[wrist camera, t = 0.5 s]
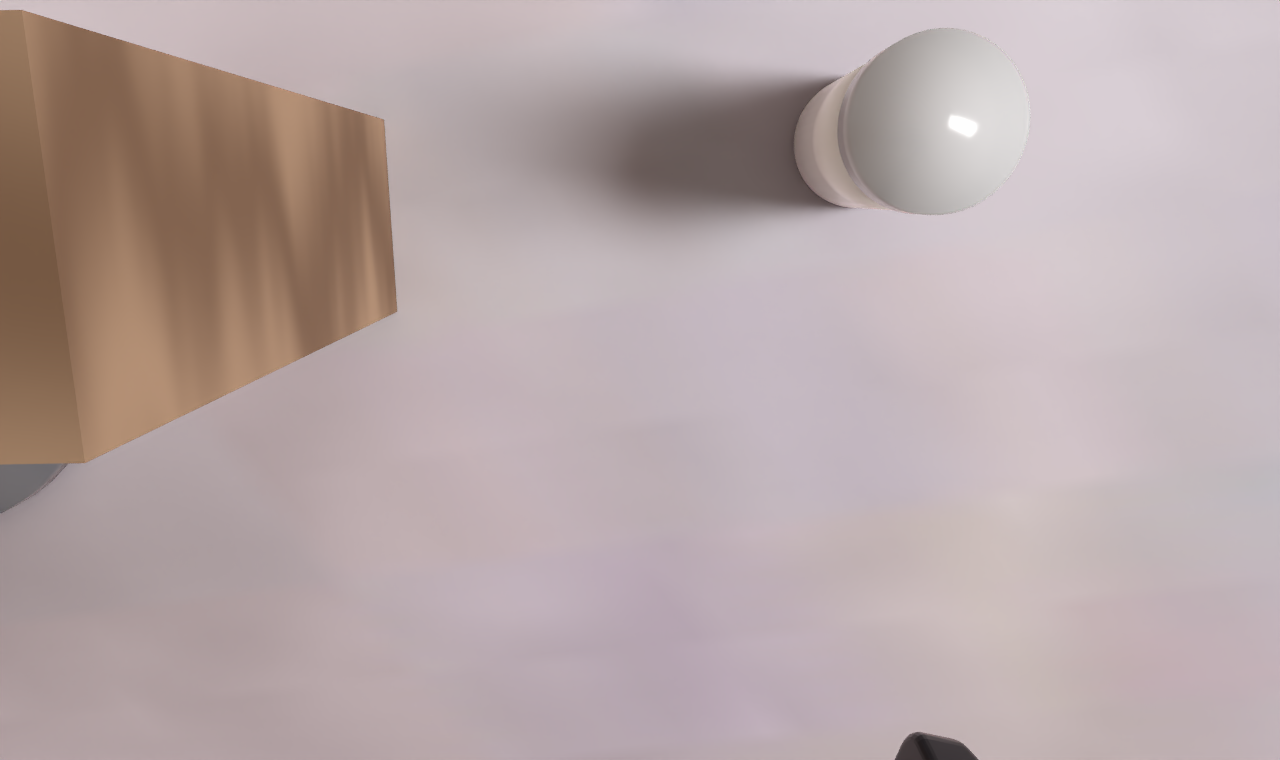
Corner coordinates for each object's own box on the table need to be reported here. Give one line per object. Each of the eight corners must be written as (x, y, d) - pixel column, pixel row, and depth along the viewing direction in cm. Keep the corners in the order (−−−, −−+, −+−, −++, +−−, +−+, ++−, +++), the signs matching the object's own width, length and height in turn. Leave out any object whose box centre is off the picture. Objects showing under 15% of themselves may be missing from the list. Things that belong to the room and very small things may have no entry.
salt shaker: (893, 227, 22) (987, 239, 16) (772, 184, 22) (822, 180, 16) (943, 100, 22) (1059, 64, 16) (819, 54, 21) (889, 0, 15)
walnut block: (397, 311, 22) (84, 463, 10) (211, 314, 22) (-344, 471, 10) (383, 119, 22) (21, 10, 9) (190, 123, 22) (-449, 18, 9)
